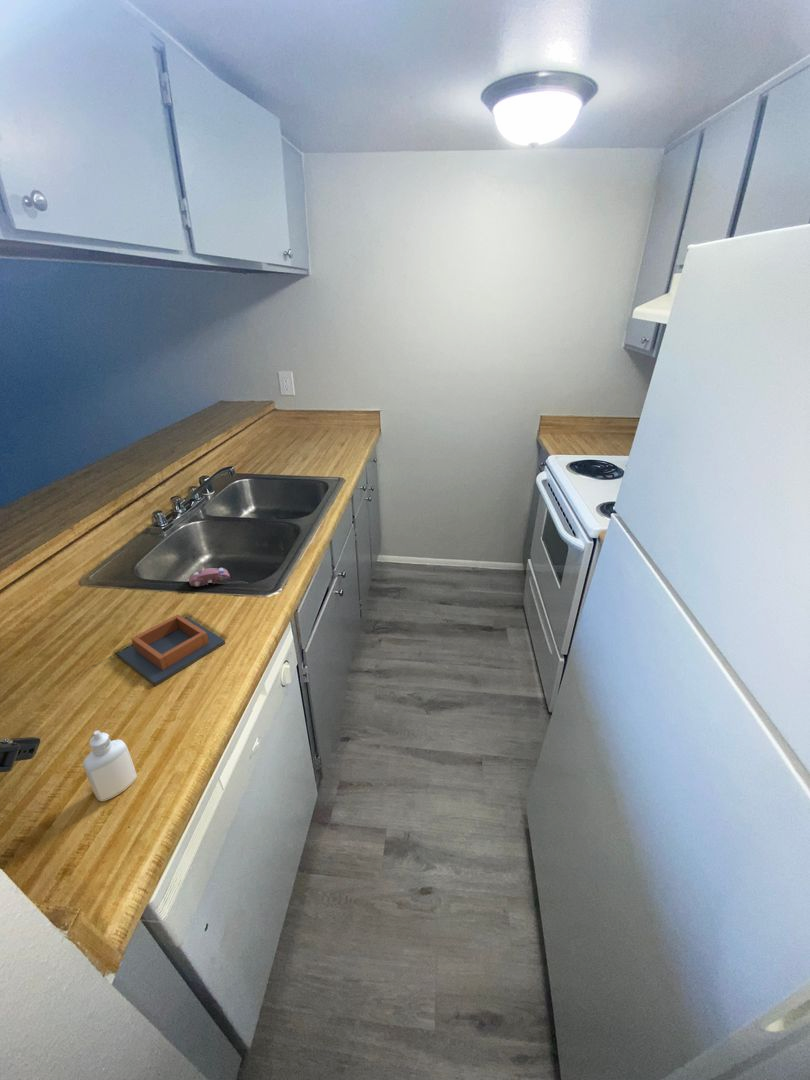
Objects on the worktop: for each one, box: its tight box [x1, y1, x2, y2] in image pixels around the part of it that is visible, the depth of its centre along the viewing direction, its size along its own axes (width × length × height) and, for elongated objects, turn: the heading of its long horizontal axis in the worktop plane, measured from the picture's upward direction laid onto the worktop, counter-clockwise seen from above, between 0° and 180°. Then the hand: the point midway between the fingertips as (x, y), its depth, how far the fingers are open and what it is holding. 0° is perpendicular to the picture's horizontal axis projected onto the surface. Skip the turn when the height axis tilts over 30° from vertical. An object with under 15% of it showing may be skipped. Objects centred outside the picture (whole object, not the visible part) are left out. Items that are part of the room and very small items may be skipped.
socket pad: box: [116, 614, 226, 687], centre depth 100 cm, size 16×14×4 cm
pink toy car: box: [188, 567, 231, 588], centre depth 121 cm, size 10×5×7 cm, turn 114°
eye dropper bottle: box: [82, 729, 138, 802], centre depth 70 cm, size 4×6×12 cm
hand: (5, 738), depth 54 cm, fingers open, 8 cm apart
